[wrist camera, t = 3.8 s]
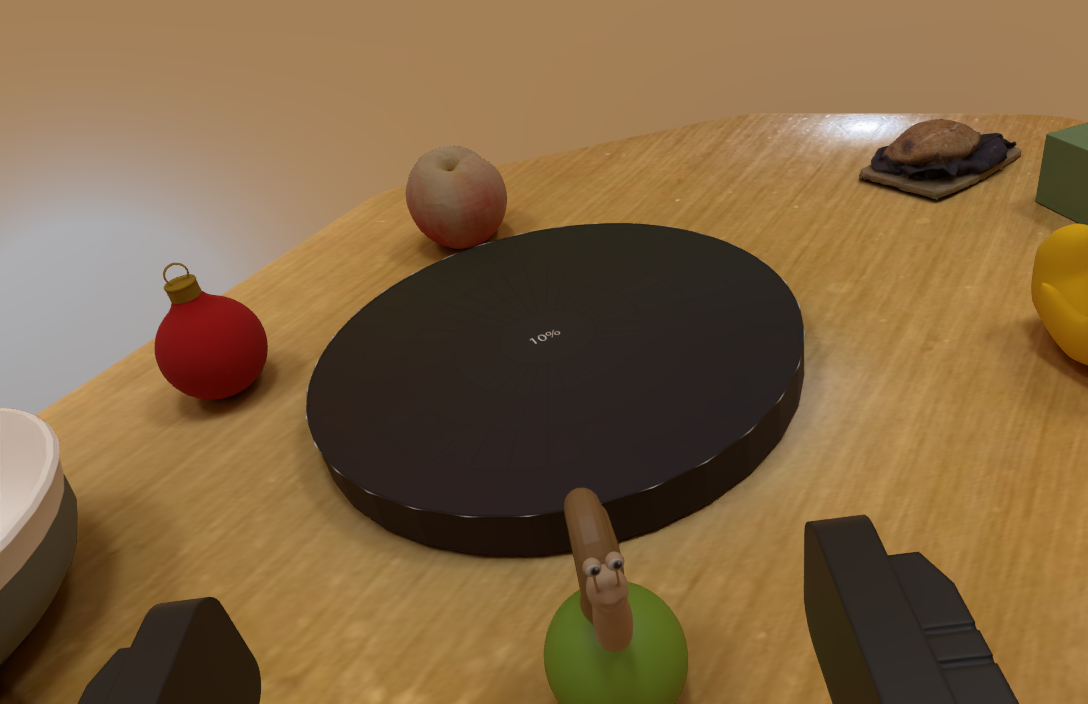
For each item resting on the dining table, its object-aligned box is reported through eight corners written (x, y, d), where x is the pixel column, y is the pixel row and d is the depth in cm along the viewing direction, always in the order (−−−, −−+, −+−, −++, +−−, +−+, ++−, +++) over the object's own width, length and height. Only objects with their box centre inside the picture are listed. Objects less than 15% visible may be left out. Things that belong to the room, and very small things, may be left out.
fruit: (443, 274, 65) (416, 182, 60) (410, 242, 71) (383, 156, 67) (529, 238, 67) (509, 147, 63) (490, 210, 74) (469, 126, 69)
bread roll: (941, 207, 59) (945, 160, 57) (849, 179, 65) (850, 135, 63) (1032, 156, 63) (1040, 110, 61) (936, 134, 69) (940, 92, 67)
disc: (599, 220, 68) (593, 187, 66) (919, 359, 45) (923, 314, 44) (261, 383, 56) (245, 348, 55) (468, 675, 34) (450, 631, 32)
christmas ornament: (265, 347, 61) (210, 228, 55) (296, 385, 55) (239, 258, 50) (172, 390, 58) (105, 270, 52) (196, 435, 53) (123, 307, 47)
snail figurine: (578, 807, 29) (509, 591, 22) (546, 657, 34) (482, 445, 28) (723, 765, 29) (697, 539, 22) (668, 622, 34) (635, 405, 28)
